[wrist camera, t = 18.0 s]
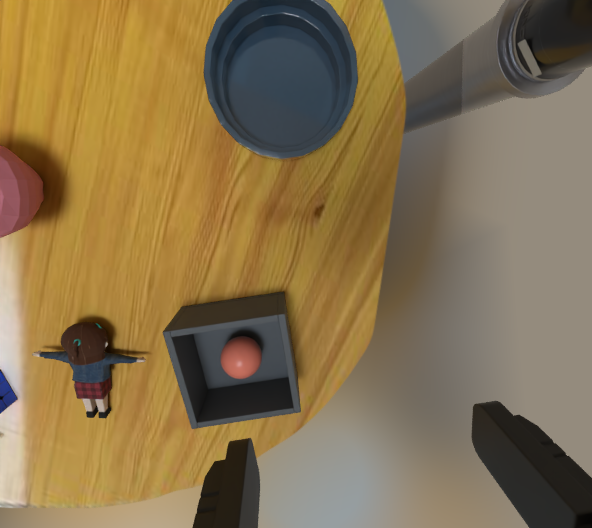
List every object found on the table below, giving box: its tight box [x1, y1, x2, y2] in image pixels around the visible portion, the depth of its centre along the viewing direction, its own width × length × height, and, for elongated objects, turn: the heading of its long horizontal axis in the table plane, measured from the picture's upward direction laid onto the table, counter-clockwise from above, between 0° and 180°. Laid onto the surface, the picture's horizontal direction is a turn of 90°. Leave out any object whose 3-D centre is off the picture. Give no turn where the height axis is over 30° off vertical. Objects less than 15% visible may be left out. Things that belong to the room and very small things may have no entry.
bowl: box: [204, 0, 358, 161], centre depth 30 cm, size 14×14×5 cm
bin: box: [163, 292, 301, 429], centre depth 38 cm, size 14×14×7 cm
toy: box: [32, 322, 146, 418], centre depth 39 cm, size 14×5×15 cm
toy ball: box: [221, 336, 262, 379], centre depth 38 cm, size 5×5×5 cm
